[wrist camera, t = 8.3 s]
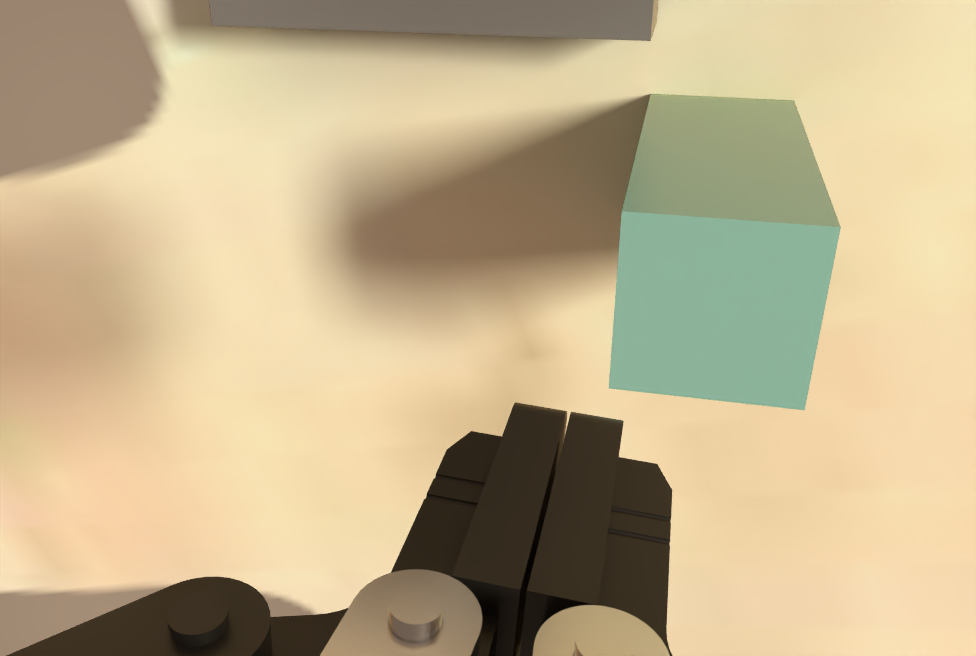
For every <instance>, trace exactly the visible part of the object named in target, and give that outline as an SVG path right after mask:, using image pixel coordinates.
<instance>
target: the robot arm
mask: <svg viewBox="0 0 976 656" xmlns="http://www.w3.org/2000/svg"><path fill="white" fill-rule="evenodd" d="M566 421H567V411H562V410H556V409H550V408H544V407H539V406H533V405H527V404H521V403H515V404H514V406H513V408H512V411H511V414H510V416H509V419H508V422H507V425H506V427H505V430H504V433H503V436H502V437H501V436H495V435H490V434H484V433H478V432H473V431H471V432H470V433H468V434H467V435H466V436H464V437H463V438H462V439H460V440H459V441H458V442H456V443H455V444H454V445H452V446H451V447H450V448H448V449H447V451H446V453H445V455H444V457H443V460H442V462H441V464H440V466H439V468H438V471H437V473H436V477H435V479H433V481H432V484H431V486H430V488H429V490H428V492H427V497H426V499H424V501H423V503H422V506H421V508H420V510H419V512H418V514H417V517H416V519H415V521H414V523H413V525H412V528H411V530H410V532H409V534H408V536H407V539H406V541H405V543H404V545H403V547H402V550H401V552H400V554H399V556H398V558H397V560H396V563H395V565H394V567H393V569H392V571H391V573H389V574H386V575H383V576H381V577H379V578H377V579H375V580H373V581H372V582H370V583H369V584H367V585H366V586H365V587H364V588H363V589H362V590H361V591H360V592H359V593H358V595H357V596H356V597H355V599H354V600H353V602H352V603H351V605H350V607H349V608H347V609H344V610H341V611H337V612H332V613H328V614H318V615H303V616H283V617H270V610H269V607H268V604H267V602H266V600H265V599H264V597H263V596H262V595H261V594H260V593H259V592H258V591H257V590H256V589H255V588H253V587H252V586H250V585H248V584H246V583H244V582H241V581H239V580H235V579H231V578H224V577H202V578H195V579H190V580H186V581H182V582H180V583H177V584H174V585H171V586H169V587H167V588H164V589H162V590H160V591H158V592H155V593H153V594H150V595H148V596H146V597H143V598H141V599H139V600H136V601H134V602H132V603H129V604H127V605H125V606H122V607H120V608H118V609H115V610H113V611H110V612H108V613H106V614H103V615H101V616H99V617H96V618H94V619H92V620H89V621H87V622H84V623H82V624H80V625H77V626H76V627H73V628H70V629H68V630H66V631H63V632H61V633H59V634H56V635H54V636H52V637H49V638H47V639H44V640H42V641H40V642H37V643H35V644H33V645H30V646H28V647H26V648H23V649H21V650H19V651H16V652H14V653H12V654H9V655H7V656H672V654H671V652H670V649H669V646H668V642H667V634H666V624H667V600H668V576H669V553H670V546H669V543H670V529H671V523H670V520H671V505H672V489H671V487H670V486H669V484H668V482H667V480H666V479H665V477H664V475H663V473H662V472H661V470H660V468H659V466H658V465H657V464H654V463H648V462H643V461H637V460H632V459H626V458H620V457H619V449H620V442H621V435H622V428H623V421H622V420H616V419H610V418H604V417H598V416H592V415H587V414H581V413H575V412H571V414H570V418H569V422H568V426H567V430H566V434H565V429H566ZM564 437H565V438H564Z"/></svg>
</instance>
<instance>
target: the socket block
mask: <svg viewBox="0 0 976 656" xmlns="http://www.w3.org/2000/svg"><path fill="white" fill-rule="evenodd" d="M209 6H210V13H211V20H212V26H237V27H265V28H294V29H323V30H352V31H381V32H410V33H439V34H468V35H497V36H525V37H554V38H583V39H612V40H641V41H651V38H652V35H653V32H654V29H655V26H656V23H657V11H658V0H209Z"/></svg>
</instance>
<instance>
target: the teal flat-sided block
mask: <svg viewBox="0 0 976 656" xmlns="http://www.w3.org/2000/svg"><path fill="white" fill-rule="evenodd" d="M840 228H841V227H840V224H839V222H838V219H837V216H836V213H835V211H834V208H833V205H832V203H831V200H830V197H829V194H828V192H827V189H826V186H825V183H824V181H823V178H822V175H821V173H820V170H819V167H818V164H817V162H816V159H815V156H814V154H813V151H812V148H811V145H810V143H809V140H808V137H807V134H806V132H805V129H804V126H803V124H802V121H801V118H800V115H799V113H798V110H797V107H796V105H795V102H794V101H789V100H768V99H746V98H725V97H703V96H682V95H661V94H651V95H650V99H649V103H648V107H647V111H646V115H645V119H644V123H643V127H642V131H641V135H640V139H639V143H638V147H637V151H636V155H635V160H634V164H633V168H632V172H631V176H630V180H629V184H628V188H627V192H626V196H625V200H624V204H623V208H622V214H621V227H620V241H619V255H618V269H617V283H616V296H615V310H614V324H613V338H612V352H611V365H610V379H609V388H611V389H620V390H628V391H637V392H646V393H655V394H664V395H673V396H682V397H691V398H700V399H709V400H718V401H727V402H736V403H745V404H754V405H763V406H772V407H781V408H790V409H799V410H805V405H806V400H807V395H808V389H809V384H810V379H811V374H812V369H813V364H814V359H815V354H816V349H817V344H818V339H819V334H820V329H821V324H822V319H823V314H824V309H825V303H826V298H827V293H828V288H829V283H830V278H831V273H832V268H833V263H834V258H835V253H836V248H837V243H838V238H839V233H840Z"/></svg>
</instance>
